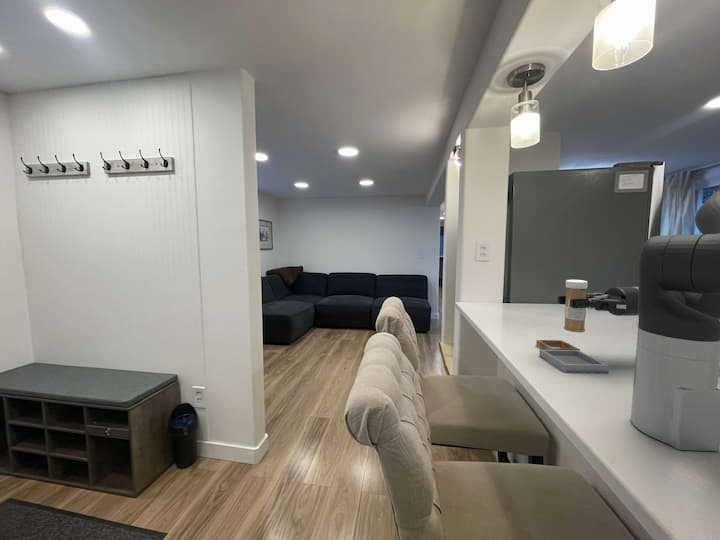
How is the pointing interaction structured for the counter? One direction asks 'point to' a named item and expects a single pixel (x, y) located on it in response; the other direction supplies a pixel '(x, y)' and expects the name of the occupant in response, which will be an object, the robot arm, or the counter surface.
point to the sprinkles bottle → (575, 315)
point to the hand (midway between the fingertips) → (564, 301)
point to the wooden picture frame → (554, 345)
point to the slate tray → (573, 361)
